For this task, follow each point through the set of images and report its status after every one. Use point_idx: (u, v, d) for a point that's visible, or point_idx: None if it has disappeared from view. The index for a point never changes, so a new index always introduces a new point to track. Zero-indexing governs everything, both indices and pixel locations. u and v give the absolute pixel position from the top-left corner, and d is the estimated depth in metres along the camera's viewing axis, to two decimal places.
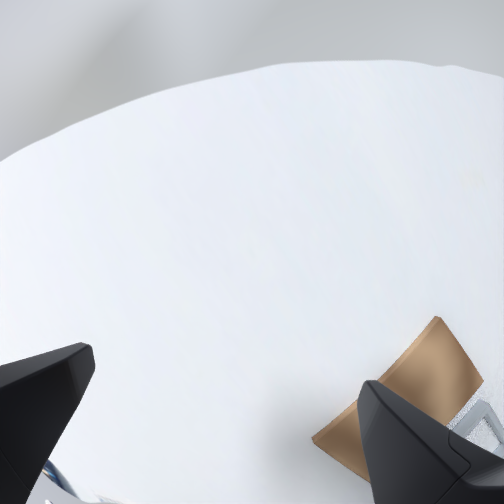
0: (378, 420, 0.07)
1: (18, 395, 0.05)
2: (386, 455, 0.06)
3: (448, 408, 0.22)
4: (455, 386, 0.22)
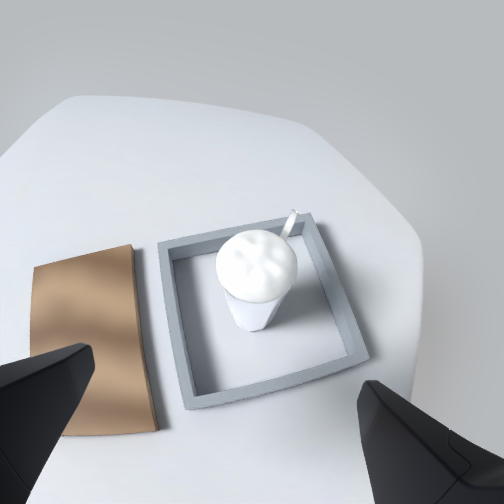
0: (378, 420, 0.07)
1: (17, 395, 0.05)
2: (386, 455, 0.06)
3: (113, 296, 0.23)
4: (97, 279, 0.24)
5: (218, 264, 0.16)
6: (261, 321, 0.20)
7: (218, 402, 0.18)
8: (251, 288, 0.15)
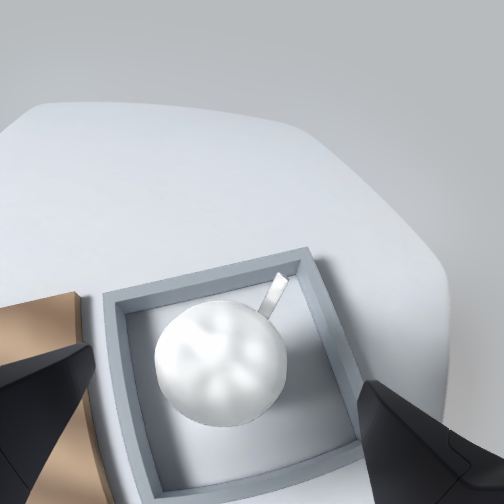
0: (378, 420, 0.07)
1: (18, 395, 0.05)
2: (386, 455, 0.06)
3: None
4: (37, 336, 0.16)
5: (156, 364, 0.09)
6: None
7: None
8: (208, 411, 0.08)
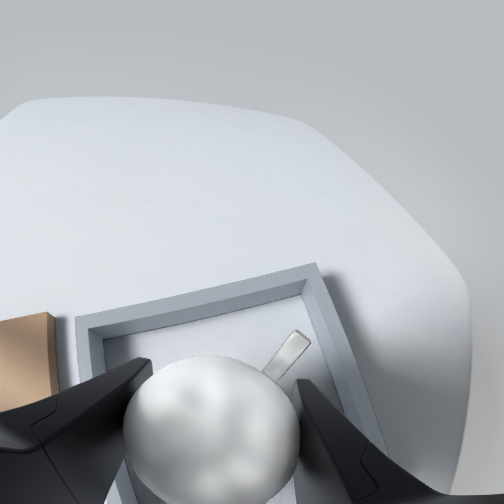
0: (299, 422, 0.07)
1: (85, 426, 0.05)
2: (303, 460, 0.06)
3: (28, 390, 0.12)
4: (9, 361, 0.13)
5: (125, 440, 0.06)
6: None
7: None
8: None
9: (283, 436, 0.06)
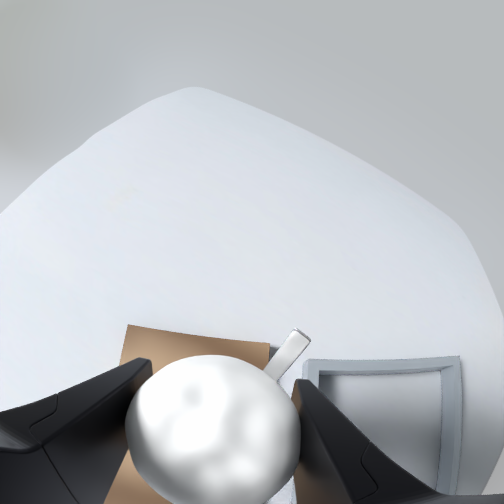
0: None
1: (85, 426, 0.05)
2: (304, 460, 0.06)
3: None
4: None
5: (127, 438, 0.06)
6: None
7: None
8: (196, 503, 0.05)
9: (284, 435, 0.06)
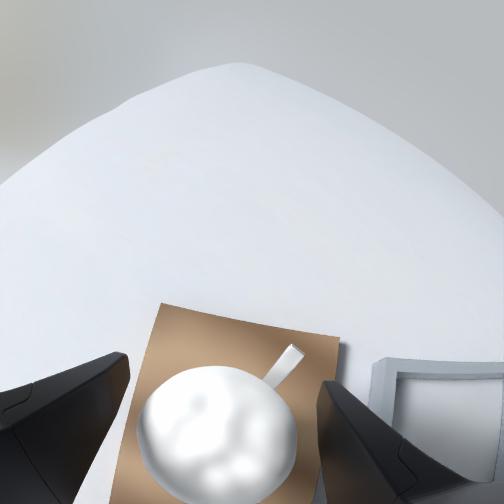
0: (330, 422, 0.07)
1: (56, 414, 0.05)
2: (337, 459, 0.06)
3: (298, 413, 0.15)
4: None
5: (139, 442, 0.07)
6: None
7: None
8: (203, 500, 0.06)
9: (281, 437, 0.07)
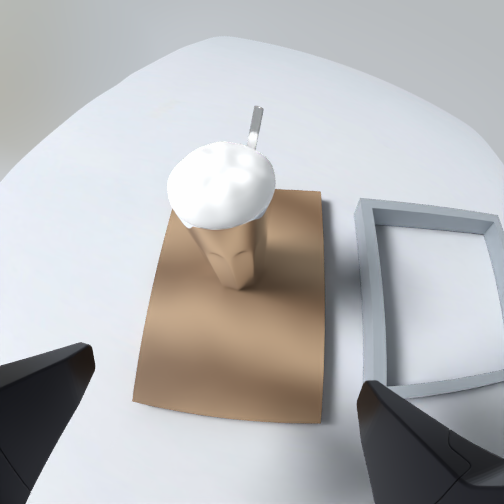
0: (378, 420, 0.07)
1: (18, 395, 0.05)
2: (386, 455, 0.06)
3: (296, 246, 0.20)
4: (274, 220, 0.21)
5: (169, 188, 0.12)
6: (246, 269, 0.16)
7: (410, 396, 0.14)
8: (212, 206, 0.11)
9: (261, 163, 0.12)
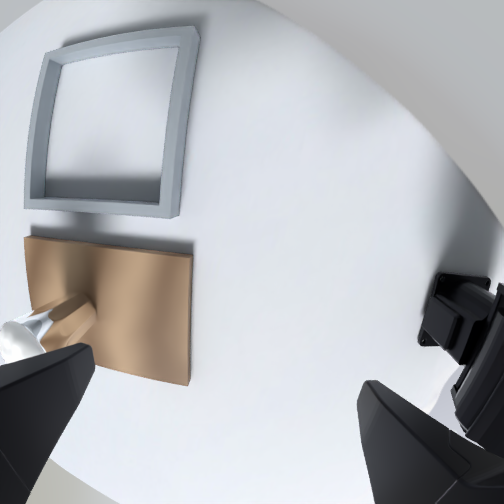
0: (378, 420, 0.07)
1: (17, 395, 0.05)
2: (386, 455, 0.06)
3: (62, 264, 0.21)
4: (47, 278, 0.21)
5: None
6: (76, 316, 0.19)
7: (171, 182, 0.18)
8: None
9: (6, 333, 0.13)
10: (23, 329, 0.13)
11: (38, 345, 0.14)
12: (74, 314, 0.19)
